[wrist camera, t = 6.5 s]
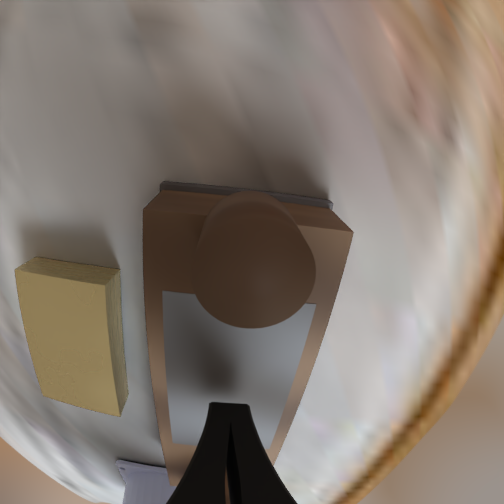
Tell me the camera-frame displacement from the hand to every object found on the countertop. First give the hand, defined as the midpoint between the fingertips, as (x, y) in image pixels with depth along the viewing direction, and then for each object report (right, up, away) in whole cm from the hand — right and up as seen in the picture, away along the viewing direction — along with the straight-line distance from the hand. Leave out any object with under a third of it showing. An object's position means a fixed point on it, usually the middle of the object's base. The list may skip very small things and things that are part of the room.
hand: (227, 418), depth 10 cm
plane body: (0, 0, +5) cm, 5 cm away
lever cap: (-7, +2, +1) cm, 7 cm away
